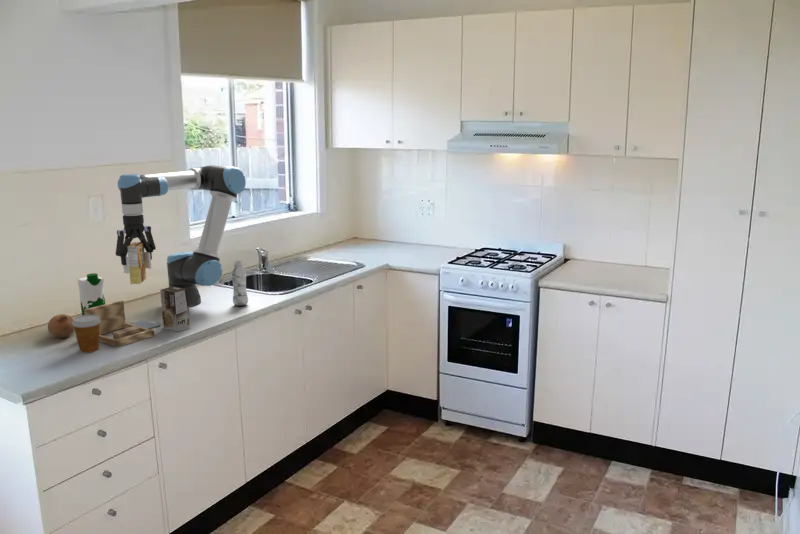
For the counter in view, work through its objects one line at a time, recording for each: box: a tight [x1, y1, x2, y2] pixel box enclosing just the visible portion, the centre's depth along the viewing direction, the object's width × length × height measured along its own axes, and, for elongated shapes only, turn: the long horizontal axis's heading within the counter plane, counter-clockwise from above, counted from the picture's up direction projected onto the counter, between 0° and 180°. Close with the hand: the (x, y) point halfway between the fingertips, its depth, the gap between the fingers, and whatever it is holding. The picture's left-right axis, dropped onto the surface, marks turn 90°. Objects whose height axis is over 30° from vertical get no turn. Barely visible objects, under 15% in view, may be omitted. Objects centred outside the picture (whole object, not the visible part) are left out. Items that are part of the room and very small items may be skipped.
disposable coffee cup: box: [72, 315, 101, 353], centre depth 246 cm, size 10×10×12 cm
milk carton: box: [77, 272, 106, 316], centre depth 280 cm, size 9×9×20 cm
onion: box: [47, 313, 75, 339], centre depth 261 cm, size 10×9×10 cm
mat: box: [130, 319, 161, 329], centre depth 275 cm, size 8×12×1 cm, turn 56°
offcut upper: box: [112, 326, 140, 339], centre depth 258 cm, size 9×4×2 cm, turn 148°
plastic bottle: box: [231, 260, 249, 307], centre depth 302 cm, size 6×7×20 cm
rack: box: [84, 299, 155, 348], centre depth 261 cm, size 16×20×11 cm
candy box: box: [127, 241, 147, 285], centre depth 269 cm, size 9×4×15 cm, turn 6°
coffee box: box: [160, 286, 191, 332], centre depth 271 cm, size 9×6×16 cm
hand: (137, 270), depth 270 cm, fingers closed on candy box, 9 cm apart
